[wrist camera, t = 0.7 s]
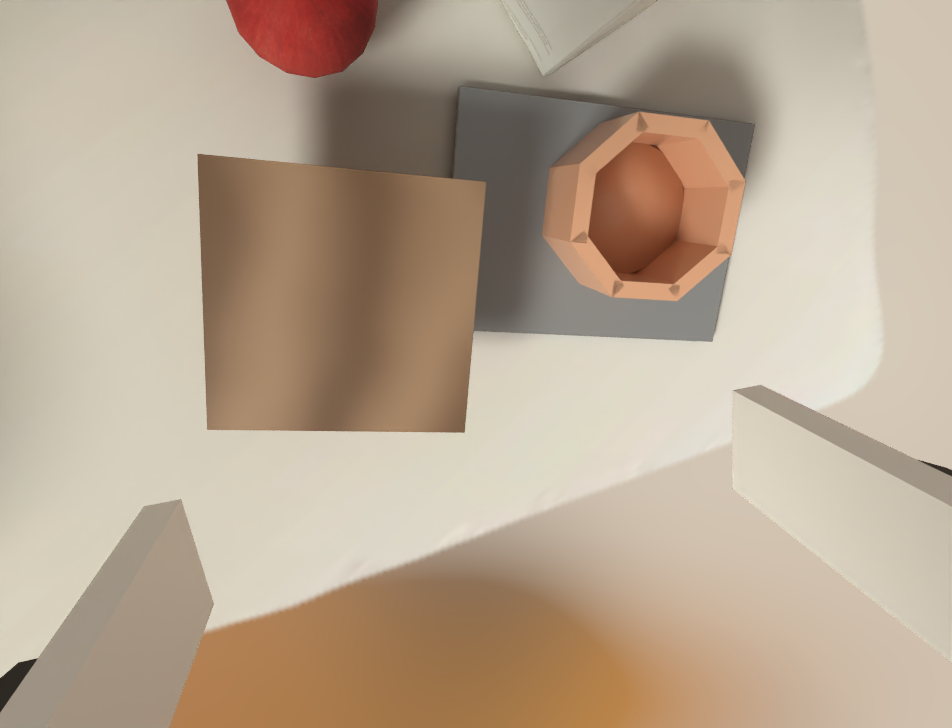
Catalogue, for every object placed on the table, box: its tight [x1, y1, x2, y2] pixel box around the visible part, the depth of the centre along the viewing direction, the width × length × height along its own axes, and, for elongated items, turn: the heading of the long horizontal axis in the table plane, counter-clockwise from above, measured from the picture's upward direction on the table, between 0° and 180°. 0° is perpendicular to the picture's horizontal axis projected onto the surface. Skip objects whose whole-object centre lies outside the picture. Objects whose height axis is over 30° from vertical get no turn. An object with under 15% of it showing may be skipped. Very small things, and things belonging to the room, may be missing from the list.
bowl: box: [542, 112, 746, 301], centre depth 29 cm, size 8×8×4 cm
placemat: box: [452, 86, 755, 342], centre depth 32 cm, size 16×12×1 cm
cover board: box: [198, 154, 486, 433], centre depth 25 cm, size 11×11×2 cm
